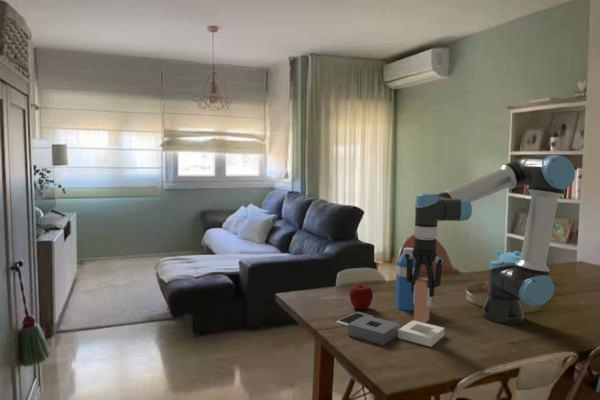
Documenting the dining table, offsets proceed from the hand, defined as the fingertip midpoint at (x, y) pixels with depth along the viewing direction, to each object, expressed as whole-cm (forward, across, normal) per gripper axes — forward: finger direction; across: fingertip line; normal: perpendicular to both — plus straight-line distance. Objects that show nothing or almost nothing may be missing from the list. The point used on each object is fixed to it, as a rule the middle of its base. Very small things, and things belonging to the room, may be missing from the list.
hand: (422, 303), depth 164 cm
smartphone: (+13, +27, 0) cm, 30 cm away
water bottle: (+12, +18, -27) cm, 35 cm away
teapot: (+12, -4, -111) cm, 112 cm away
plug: (+6, 0, 0) cm, 6 cm away
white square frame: (+12, 0, 0) cm, 12 cm away
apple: (+12, +32, -13) cm, 37 cm away
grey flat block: (+12, +14, +9) cm, 20 cm away
